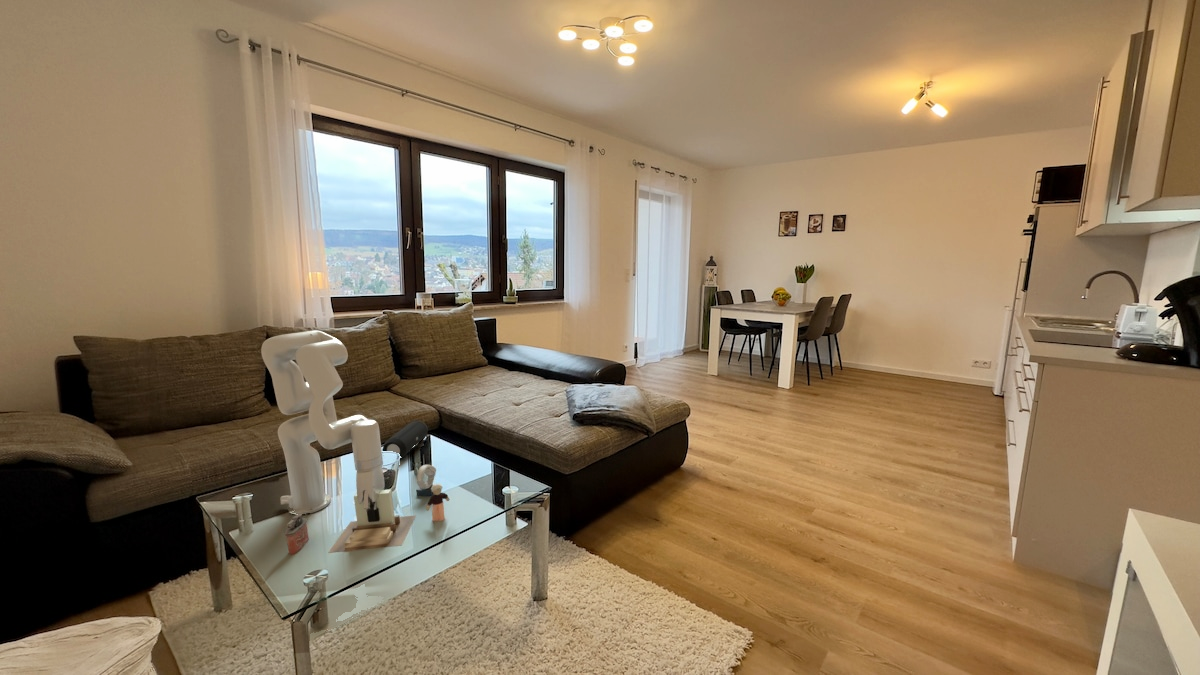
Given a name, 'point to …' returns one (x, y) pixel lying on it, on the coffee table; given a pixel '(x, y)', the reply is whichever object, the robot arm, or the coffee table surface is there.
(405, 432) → the portable speaker
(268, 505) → the coffee table surface
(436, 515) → the grandmother figurine
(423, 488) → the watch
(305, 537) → the lighter
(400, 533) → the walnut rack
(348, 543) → the lower birch offcut
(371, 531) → the upper birch offcut
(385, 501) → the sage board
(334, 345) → the robot arm
